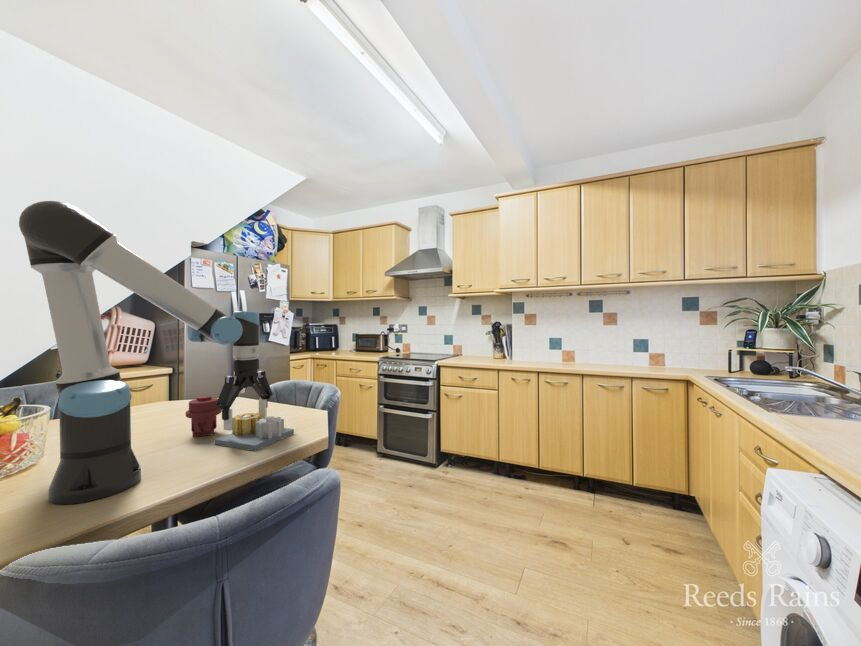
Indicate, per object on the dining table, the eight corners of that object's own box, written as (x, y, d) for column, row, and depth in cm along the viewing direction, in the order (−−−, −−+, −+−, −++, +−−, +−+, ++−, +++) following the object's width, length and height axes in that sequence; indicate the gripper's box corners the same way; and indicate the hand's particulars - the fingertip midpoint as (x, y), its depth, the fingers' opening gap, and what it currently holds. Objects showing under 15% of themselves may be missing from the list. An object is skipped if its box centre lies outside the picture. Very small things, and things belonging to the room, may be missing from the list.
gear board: (257, 451, 101) (257, 426, 101) (214, 444, 107) (214, 421, 107) (295, 433, 116) (295, 412, 116) (256, 428, 122) (256, 408, 122)
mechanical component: (201, 428, 122) (228, 429, 121) (178, 438, 112) (207, 439, 111) (201, 393, 122) (228, 394, 121) (177, 400, 112) (206, 400, 111)
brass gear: (246, 437, 109) (246, 421, 109) (226, 433, 112) (226, 418, 112) (267, 429, 117) (267, 414, 117) (248, 426, 120) (248, 411, 120)
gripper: (220, 363, 101) (220, 436, 101) (283, 355, 125) (283, 415, 125) (201, 362, 104) (201, 434, 104) (266, 354, 127) (266, 413, 127)
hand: (246, 423), depth 114 cm, fingers open, 13 cm apart
